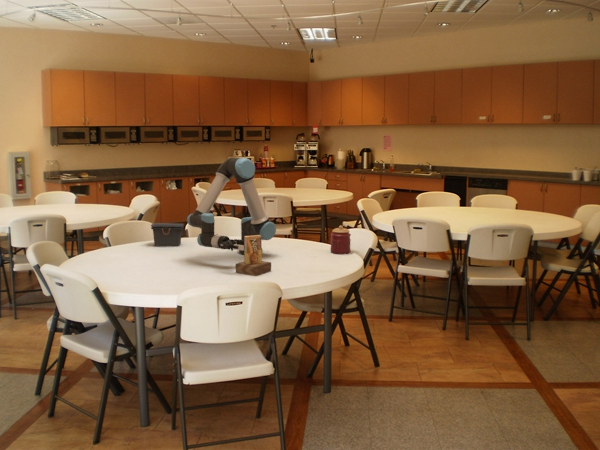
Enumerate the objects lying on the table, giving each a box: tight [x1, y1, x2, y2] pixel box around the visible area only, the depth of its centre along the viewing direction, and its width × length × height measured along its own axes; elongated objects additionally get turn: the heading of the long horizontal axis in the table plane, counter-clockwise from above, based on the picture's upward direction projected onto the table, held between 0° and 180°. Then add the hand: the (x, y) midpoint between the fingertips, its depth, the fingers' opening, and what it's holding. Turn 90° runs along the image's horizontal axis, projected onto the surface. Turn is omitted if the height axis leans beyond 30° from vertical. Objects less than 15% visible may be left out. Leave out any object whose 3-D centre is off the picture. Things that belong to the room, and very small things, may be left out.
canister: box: [330, 225, 352, 255], centre depth 405 cm, size 13×13×18 cm
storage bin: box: [150, 222, 185, 247], centre depth 423 cm, size 21×16×14 cm
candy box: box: [243, 235, 263, 264], centre depth 347 cm, size 9×4×15 cm, turn 115°
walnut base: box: [235, 260, 272, 277], centre depth 349 cm, size 14×14×5 cm
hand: (251, 246), depth 349 cm, fingers open, 13 cm apart
